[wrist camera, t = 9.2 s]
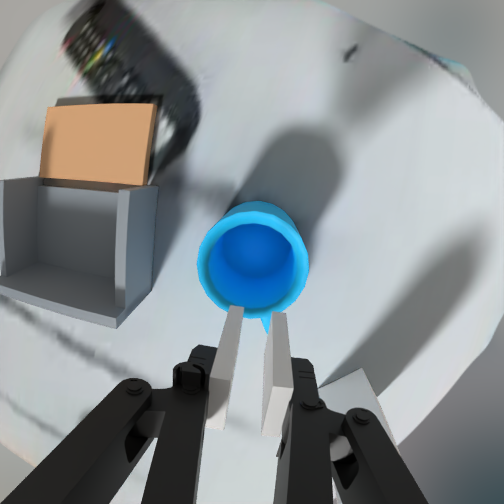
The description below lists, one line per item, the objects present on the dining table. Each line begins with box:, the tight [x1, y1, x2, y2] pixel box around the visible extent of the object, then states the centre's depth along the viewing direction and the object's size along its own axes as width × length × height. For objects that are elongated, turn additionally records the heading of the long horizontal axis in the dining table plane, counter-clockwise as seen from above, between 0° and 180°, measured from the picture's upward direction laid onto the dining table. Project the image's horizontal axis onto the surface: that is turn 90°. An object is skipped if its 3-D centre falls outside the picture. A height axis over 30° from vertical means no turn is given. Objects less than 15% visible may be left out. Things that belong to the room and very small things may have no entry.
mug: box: [197, 201, 309, 334], centre depth 28 cm, size 12×8×8 cm
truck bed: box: [0, 176, 159, 329], centre depth 27 cm, size 16×11×9 cm
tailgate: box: [39, 104, 157, 185], centre depth 29 cm, size 13×1×8 cm
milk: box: [318, 368, 401, 504], centre depth 24 cm, size 6×6×22 cm
